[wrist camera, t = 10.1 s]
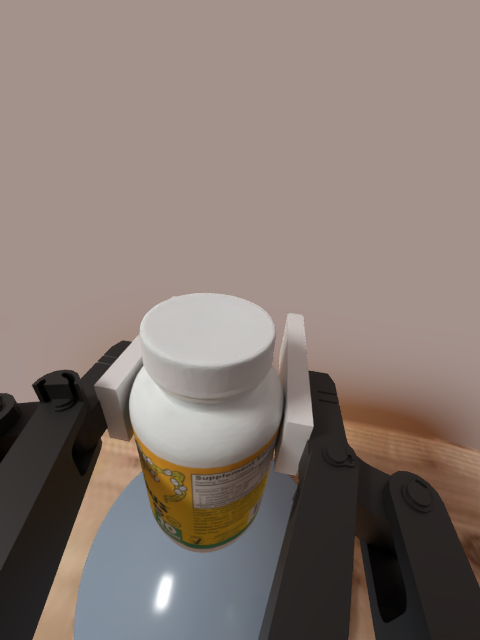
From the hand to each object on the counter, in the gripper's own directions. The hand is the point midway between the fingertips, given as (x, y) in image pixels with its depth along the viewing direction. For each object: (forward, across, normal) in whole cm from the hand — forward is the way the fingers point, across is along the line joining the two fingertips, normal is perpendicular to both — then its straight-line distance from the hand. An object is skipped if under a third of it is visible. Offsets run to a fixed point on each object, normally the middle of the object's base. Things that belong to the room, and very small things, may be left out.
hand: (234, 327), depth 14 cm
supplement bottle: (-5, 0, -6) cm, 8 cm away
